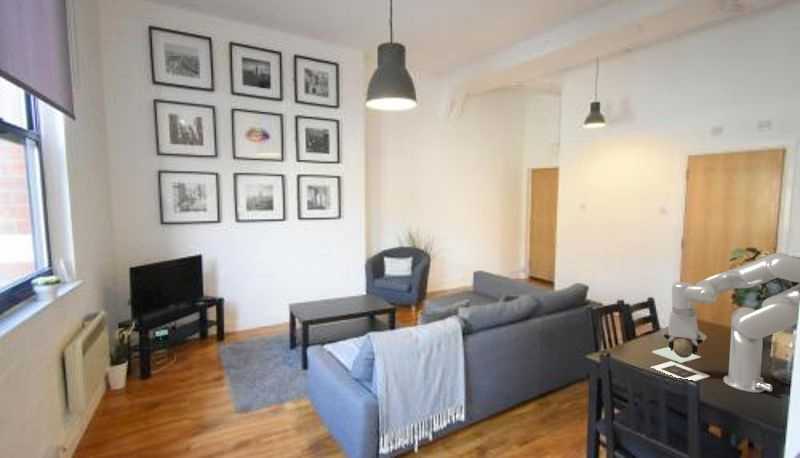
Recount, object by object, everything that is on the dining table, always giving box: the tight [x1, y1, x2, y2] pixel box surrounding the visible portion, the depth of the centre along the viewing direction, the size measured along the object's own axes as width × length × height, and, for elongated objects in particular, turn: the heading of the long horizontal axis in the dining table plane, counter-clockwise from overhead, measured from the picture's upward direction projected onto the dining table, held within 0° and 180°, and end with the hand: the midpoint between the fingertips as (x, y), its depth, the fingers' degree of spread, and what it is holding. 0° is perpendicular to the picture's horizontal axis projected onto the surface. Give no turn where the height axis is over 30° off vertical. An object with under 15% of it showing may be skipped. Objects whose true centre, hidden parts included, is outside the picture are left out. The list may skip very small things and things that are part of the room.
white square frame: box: [650, 360, 711, 382], centre depth 170 cm, size 16×14×1 cm
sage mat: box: [651, 346, 702, 364], centre depth 188 cm, size 14×14×1 cm
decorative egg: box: [673, 337, 693, 358], centre depth 169 cm, size 7×7×10 cm
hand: (682, 351), depth 169 cm, fingers closed on decorative egg, 7 cm apart
